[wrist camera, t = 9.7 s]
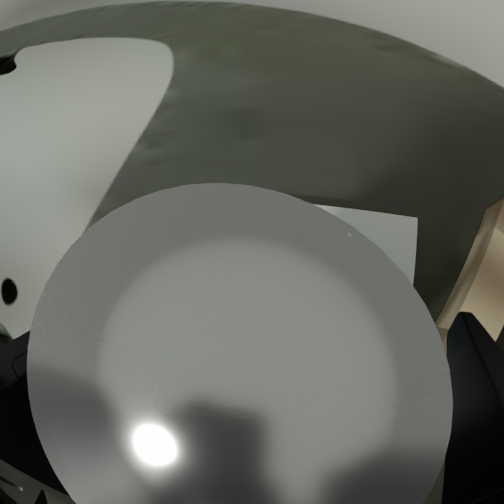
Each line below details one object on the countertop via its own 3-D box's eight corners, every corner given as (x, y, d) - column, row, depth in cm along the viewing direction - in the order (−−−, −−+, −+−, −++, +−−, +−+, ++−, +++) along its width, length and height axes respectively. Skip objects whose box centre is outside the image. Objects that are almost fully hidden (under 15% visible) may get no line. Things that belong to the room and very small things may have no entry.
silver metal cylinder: (355, 344, 16) (484, 518, 1) (285, 374, 16) (128, 583, 2) (325, 276, 17) (318, 105, 2) (256, 307, 17) (-2, 293, 3)
